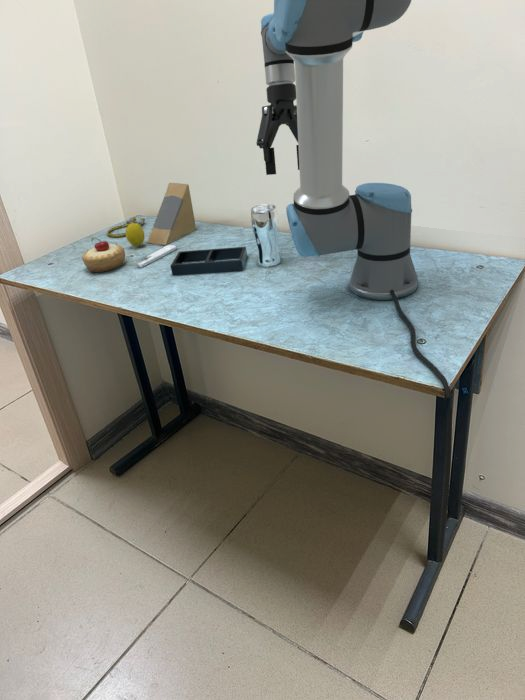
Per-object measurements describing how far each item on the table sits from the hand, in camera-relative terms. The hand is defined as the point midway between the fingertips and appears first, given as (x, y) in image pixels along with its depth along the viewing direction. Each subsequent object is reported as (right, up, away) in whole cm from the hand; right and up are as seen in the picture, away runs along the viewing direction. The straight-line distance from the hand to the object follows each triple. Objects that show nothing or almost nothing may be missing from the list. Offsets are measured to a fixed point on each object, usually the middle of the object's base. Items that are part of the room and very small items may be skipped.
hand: (287, 172), depth 145 cm
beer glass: (-5, -24, +2) cm, 25 cm away
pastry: (-52, -24, +13) cm, 59 cm away
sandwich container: (-36, -11, +31) cm, 49 cm away
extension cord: (-53, -6, +42) cm, 68 cm away
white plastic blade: (-39, -20, +16) cm, 47 cm away
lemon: (-46, -16, +25) cm, 55 cm away
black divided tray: (-21, -25, +4) cm, 33 cm away
